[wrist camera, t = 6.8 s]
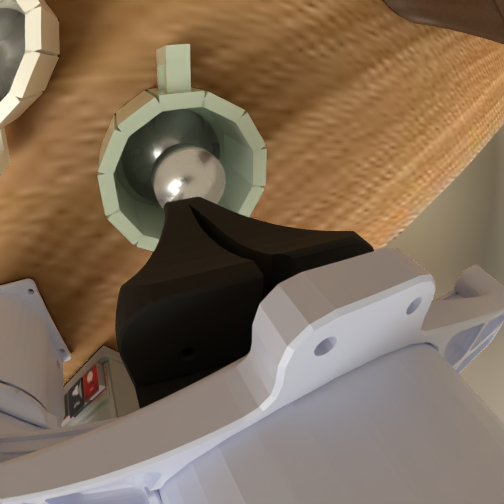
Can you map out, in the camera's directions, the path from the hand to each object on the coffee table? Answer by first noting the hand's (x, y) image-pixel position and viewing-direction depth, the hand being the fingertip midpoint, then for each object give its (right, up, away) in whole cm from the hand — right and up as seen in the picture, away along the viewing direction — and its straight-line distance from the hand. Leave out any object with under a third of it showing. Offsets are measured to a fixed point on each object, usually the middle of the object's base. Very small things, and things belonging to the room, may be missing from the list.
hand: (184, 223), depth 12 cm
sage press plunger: (-3, +5, +8) cm, 10 cm away
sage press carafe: (-3, +7, +8) cm, 10 cm away
